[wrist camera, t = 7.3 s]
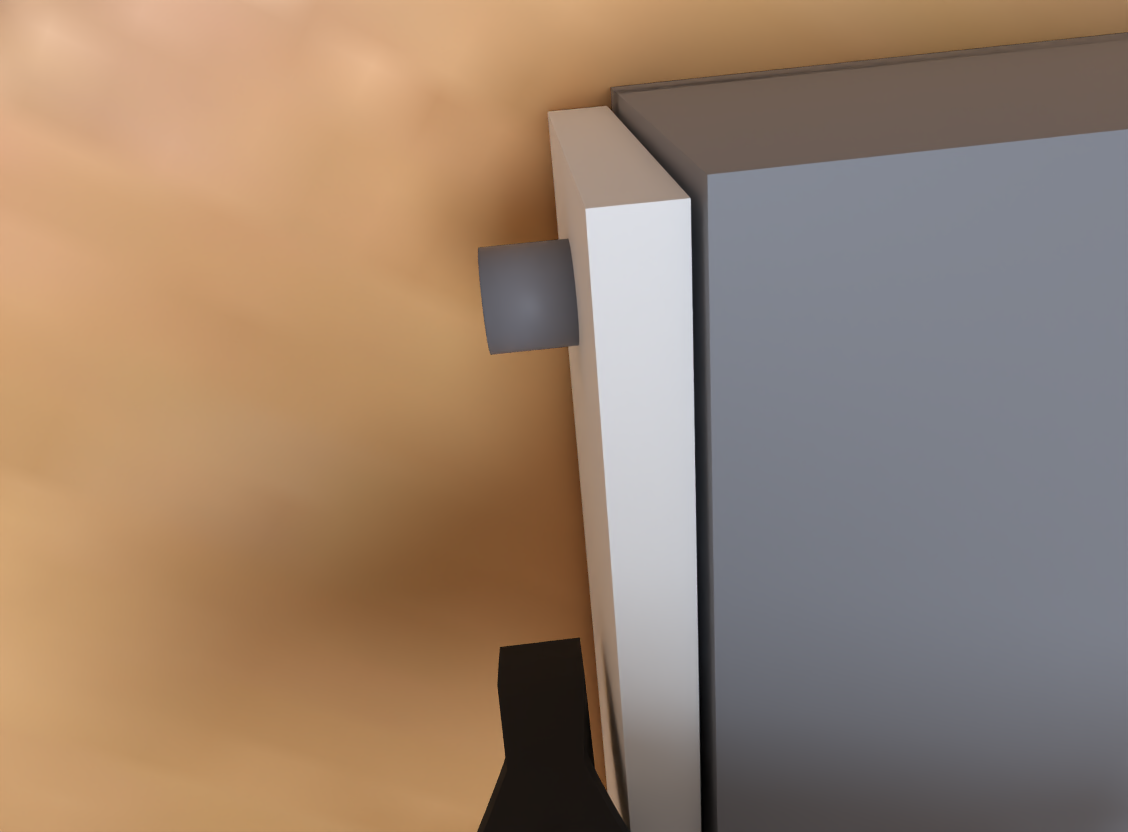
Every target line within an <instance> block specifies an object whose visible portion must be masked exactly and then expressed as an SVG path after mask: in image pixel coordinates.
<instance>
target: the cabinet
mask: <svg viewBox="0 0 1128 832" xmlns="http://www.w3.org/2000/svg"><path fill="white" fill-rule="evenodd" d="M611 101H612V112H613V113H614V114H615V115H616V116H617V117H618V119H619V120H620V121H621V122H622V123H623V124H624V125H625V126H626V127H627V128H628V130H629V131H630V132H631V133H632V134H633V135H634V136H635V137H636V138H637V139H638V141H639V142H640V143H641V144H642V145H643V146H644V147H645V148H646V149H647V151H648V152H649V153H650V154H651V155H652V156H653V157H654V158H655V159H656V160H657V162H658V163H659V164H660V165H661V166H662V167H663V168H664V169H665V170H666V171H667V173H668V174H669V175H670V176H671V177H672V178H673V179H674V180H675V181H676V183H677V184H678V185H679V186H680V187H681V188H682V189H683V190H684V191H685V192H686V194H687V195H688V196H689V197H690V198H691V250H692V310H693V371H694V431H695V492H696V552H697V613H698V673H699V733H700V794H701V832H1128V32H1127V33H1118V34H1108V35H1099V36H1089V37H1080V38H1071V39H1061V40H1052V41H1042V42H1033V43H1023V44H1014V45H1005V46H995V47H986V48H976V49H967V50H958V51H948V52H939V53H929V54H920V55H910V56H901V57H892V58H882V59H873V60H863V61H854V62H845V63H835V64H826V65H816V66H807V67H797V68H788V69H779V70H769V71H760V72H750V73H741V74H732V75H722V76H713V77H703V78H694V79H684V80H675V81H666V82H656V83H647V84H637V85H628V86H619V87H611Z"/></svg>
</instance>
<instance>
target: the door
mask: <svg viewBox="0 0 1128 832" xmlns="http://www.w3.org/2000/svg"><path fill="white" fill-rule="evenodd" d="M548 123H549V134H550V145H551V157H552V168H553V180H554V191H555V202H556V214H557V225H558V236H559V239H558V240H548V241H539V242H529V243H519V244H509V245H499V246H489V247H479V248H478V264H479V277H480V288H481V298H482V306H483V314H484V322H485V329H486V336H487V342H488V347H489V351H490V354H491V355H492V354H502V353H511V352H521V351H531V350H540V349H550V348H559V347H568V350H569V361H570V372H571V384H572V395H573V406H574V418H575V429H576V441H577V452H578V463H579V475H580V486H581V497H582V509H583V520H584V531H585V543H586V554H587V565H588V577H589V588H590V599H591V611H592V622H593V633H594V645H595V656H596V668H597V679H598V690H599V702H600V713H601V724H602V736H603V747H604V758H605V770H606V781H607V792H608V795H609V796H610V798H611V800H612V802H613V803H614V805H615V807H616V809H617V811H618V812H619V814H620V816H621V817H622V819H623V821H624V822H625V824H626V826H627V827H628V829H629V831H630V832H701V794H700V733H699V673H698V613H697V552H696V492H695V431H694V371H693V310H692V250H691V198H690V197H689V196H688V195H687V194H686V192H685V191H684V190H683V189H682V188H681V187H680V186H679V185H678V184H677V183H676V181H675V180H674V179H673V178H672V177H671V176H670V175H669V174H668V173H667V171H666V170H665V169H664V168H663V167H662V166H661V165H660V164H659V163H658V162H657V160H656V159H655V158H654V157H653V156H652V155H651V154H650V153H649V152H648V151H647V149H646V148H645V147H644V146H643V145H642V144H641V143H640V142H639V141H638V139H637V138H636V137H635V136H634V135H633V134H632V133H631V132H630V131H629V130H628V128H627V127H626V126H625V125H624V124H623V123H622V122H621V121H620V120H619V119H618V117H617V116H616V115H615V114H614V113H613V112H612V111H611V110H610V109H609V107H608V106H599V107H589V108H579V109H569V110H558V111H548Z"/></svg>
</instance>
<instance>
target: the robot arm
mask: <svg viewBox="0 0 1128 832" xmlns="http://www.w3.org/2000/svg"><path fill="white" fill-rule="evenodd" d="M498 695H499V704H500V712H501V721H502V730H503V739H504V748H505V761H504V764H503V767H502V769H501V772H500V775H499V778H498V780H497V783H496V785H495V788H494V790H493V793H492V796H491V798H490V801H489V803H488V806H487V809H486V811H485V814H484V816H483V819H482V821H481V824H480V826H479V828H478V831H477V832H630V831H629V829H628V827H627V826H626V824H625V822H624V821H623V819H622V817H621V816H620V814H619V812H618V811H617V809H616V807H615V805H614V803H613V802H612V800H611V798H610V796H609V795H608V793H607V791H606V789H605V787H604V786H603V784H602V782H601V780H600V778H599V776H598V774H597V772H596V770H595V766H594V757H593V748H592V739H591V730H590V721H589V712H588V703H587V693H586V684H585V675H584V668H583V660H582V652H581V645H580V638H572V639H564V640H556V641H547V642H539V643H531V644H522V645H514V646H506V647H500V654H499V667H498Z"/></svg>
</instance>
